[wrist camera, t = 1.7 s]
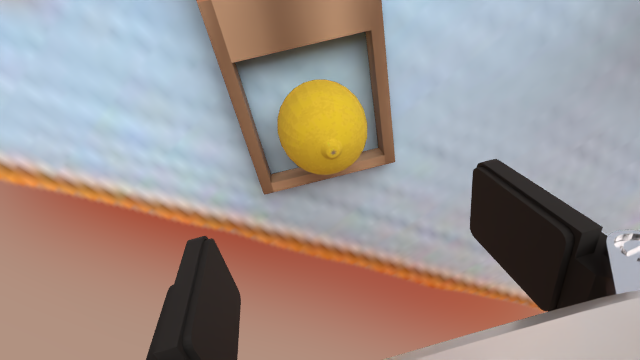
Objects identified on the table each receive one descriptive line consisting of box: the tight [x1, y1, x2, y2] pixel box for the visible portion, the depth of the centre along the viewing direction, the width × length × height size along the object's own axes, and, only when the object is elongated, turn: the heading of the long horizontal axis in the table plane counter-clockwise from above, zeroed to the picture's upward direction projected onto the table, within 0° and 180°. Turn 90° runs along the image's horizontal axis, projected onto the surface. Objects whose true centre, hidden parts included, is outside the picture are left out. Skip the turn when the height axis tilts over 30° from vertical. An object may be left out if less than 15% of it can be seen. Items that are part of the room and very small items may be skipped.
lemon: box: [278, 80, 367, 175], centre depth 20 cm, size 6×6×8 cm
